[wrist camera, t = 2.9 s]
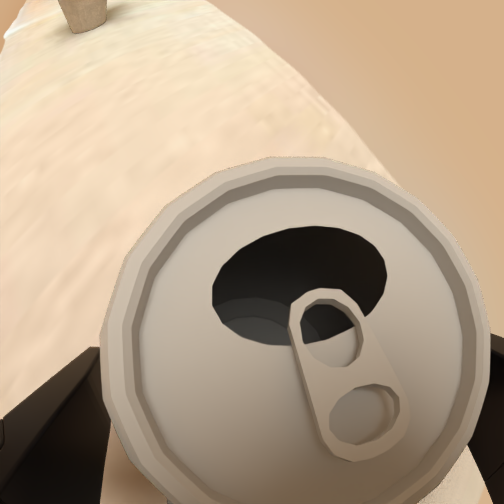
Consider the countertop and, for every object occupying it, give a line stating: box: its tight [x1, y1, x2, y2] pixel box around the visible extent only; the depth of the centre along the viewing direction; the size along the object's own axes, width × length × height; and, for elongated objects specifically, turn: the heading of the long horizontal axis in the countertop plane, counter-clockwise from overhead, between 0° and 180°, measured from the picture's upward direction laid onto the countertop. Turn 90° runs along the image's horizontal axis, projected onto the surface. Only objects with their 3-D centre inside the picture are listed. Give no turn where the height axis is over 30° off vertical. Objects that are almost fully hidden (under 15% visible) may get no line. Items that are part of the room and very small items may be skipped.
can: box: [100, 157, 490, 504], centre depth 9 cm, size 8×8×12 cm
